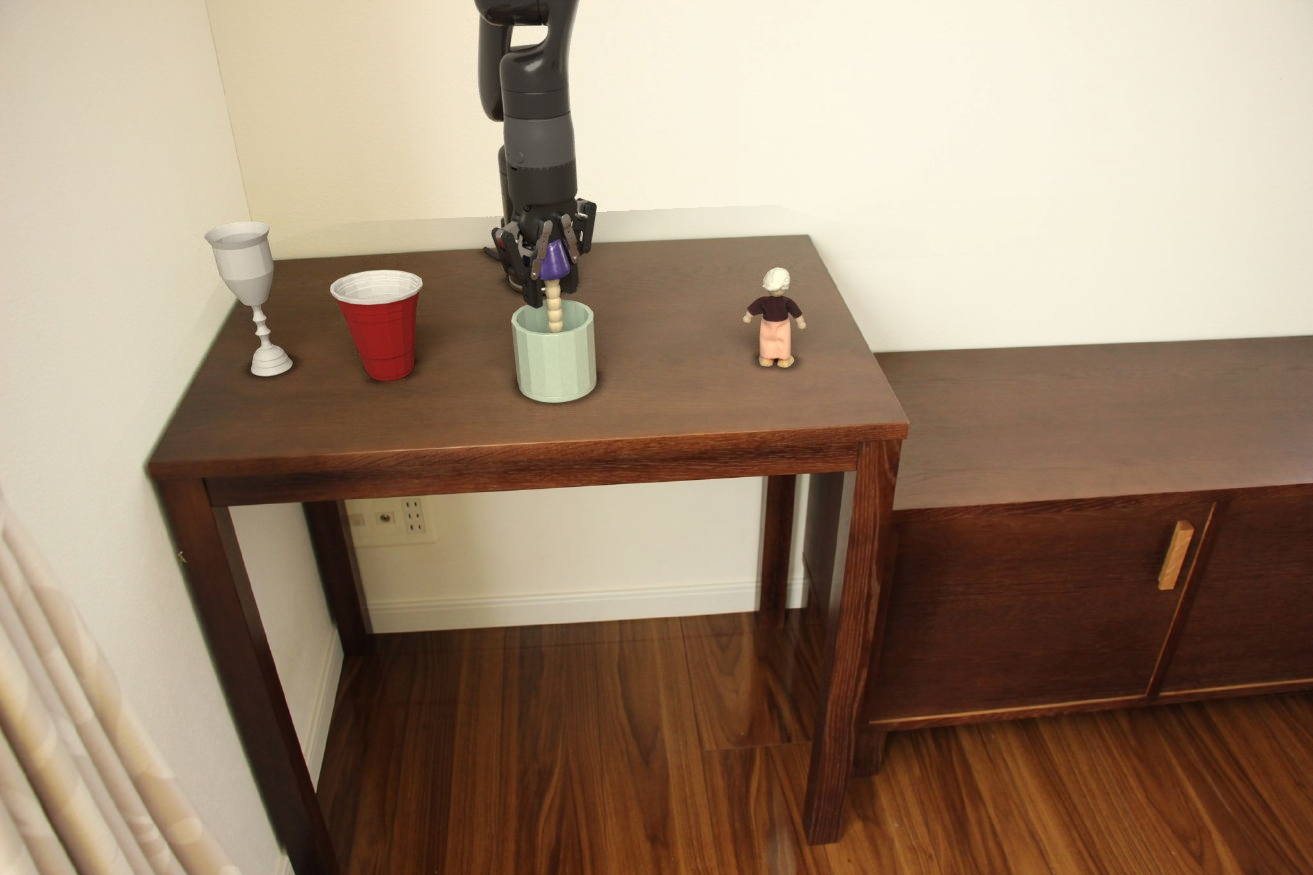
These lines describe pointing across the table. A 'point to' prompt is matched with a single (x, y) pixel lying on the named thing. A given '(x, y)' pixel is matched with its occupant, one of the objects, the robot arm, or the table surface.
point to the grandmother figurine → (775, 319)
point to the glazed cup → (555, 353)
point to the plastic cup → (381, 319)
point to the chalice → (250, 282)
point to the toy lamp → (554, 282)
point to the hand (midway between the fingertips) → (551, 298)
